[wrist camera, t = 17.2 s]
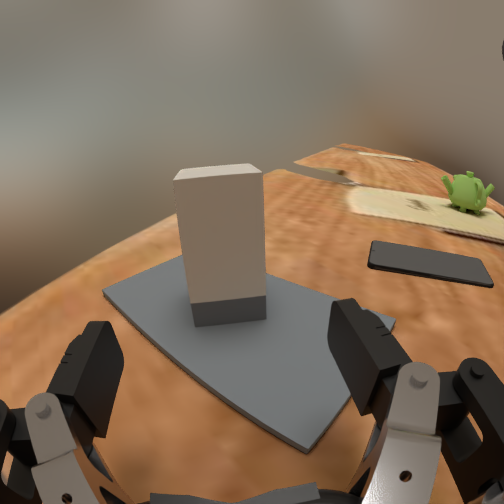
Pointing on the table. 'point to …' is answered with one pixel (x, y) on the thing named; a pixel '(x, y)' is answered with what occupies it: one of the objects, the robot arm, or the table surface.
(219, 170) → the block
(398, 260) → the smartphone
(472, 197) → the teapot
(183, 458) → the table surface
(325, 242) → the table surface
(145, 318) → the desk mat
